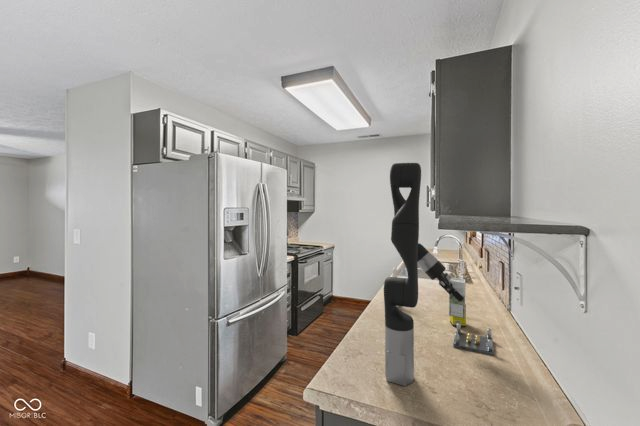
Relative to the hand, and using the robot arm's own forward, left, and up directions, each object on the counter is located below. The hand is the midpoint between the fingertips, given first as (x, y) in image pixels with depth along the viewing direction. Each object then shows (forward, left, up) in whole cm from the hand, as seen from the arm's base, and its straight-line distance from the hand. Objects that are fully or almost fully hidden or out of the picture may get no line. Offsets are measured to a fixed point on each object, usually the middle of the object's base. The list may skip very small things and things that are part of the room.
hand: (462, 297), depth 113 cm
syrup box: (0, +2, -7) cm, 8 cm away
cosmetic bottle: (+38, +37, -21) cm, 57 cm away
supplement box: (+25, +3, -21) cm, 33 cm away
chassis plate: (+6, -4, -20) cm, 22 cm away
